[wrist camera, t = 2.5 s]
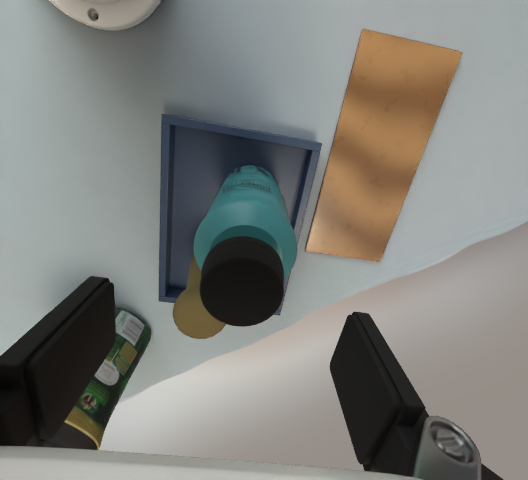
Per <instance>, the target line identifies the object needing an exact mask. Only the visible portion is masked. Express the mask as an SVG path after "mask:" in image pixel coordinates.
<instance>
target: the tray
mask: <svg viewBox="0 0 528 480" xmlns="http://www.w3.org/2000/svg"><path fill="white" fill-rule="evenodd" d="M321 146H322V144H321V143H318V142H314V141H309V140H304V139H298V138H293V137H287V136H282V135H277V134H271V133H266V132H261V131H255V130H250V129H244V128H239V127H234V126H228V125H223V124H218V123H212V122H207V121H201V120H196V119H191V118H185V117H180V116H175V115H169V114H162V131H161V190H160V249H159V301H162V302H170V303H175V301H176V300H177V298H178V297H179V295H180V294H181V293H182V292H183V291H184V290H185V289H186V286H187V280H188V274H189V269H190V263H191V258H192V255H193V253H194V238H195V235H196V232H197V229H198V227H199V225H200V224H201V222H202V221H203V219H204V218H205V217H206V215H207V213H208V211H209V209H210V207H211V205H212V203H213V201H214V199H215V197H214V196H216V194H217V192H218V191H219V190H220V189H219V188H221V187H222V185H223V183H224V181H225V179H226V178H227V177H228V175H229V174H230V172H231V170H232V171H234V170H235V169H237V167H238V166H239V167H242V166H243V165H245V166H258V165H259V166H260V167H261V166H262V167H263V169H264V168H265V170H267V169H268V170H267V171H270V172H269V173H270V174H272V175H273V176H274V178H275V177H276V178H277V179H276V178H275V179H276V181H277V183H278V182H279V184H278V186H279V189H280V192H281V194H283V196H282V198H283V197H284V199H283V201H284V200H285V201H286V202H284V204H285V203H286V204H285V206H286V205H287V207H286V210H287V213H288V218H289V219H290V220H289V221H290V224H291V226H292V228H293V230H294V233H295V236H296V240H297V244H298V240H299V236H300V232H301V228H302V223H303V219H304V215H305V211H306V207H307V203H308V199H309V195H310V191H311V187H312V183H313V179H314V175H315V171H316V166H317V162H318V158H319V154H320V150H321ZM246 164H247V165H246ZM253 164H254V165H253ZM241 165H242V166H241ZM259 166H258V167H259ZM239 167H238V168H239ZM262 167H261V168H262ZM234 168H235V169H234ZM227 174H228V175H227ZM225 177H226V178H225ZM223 180H224V181H223ZM222 181H223V182H222ZM221 183H222V184H221ZM220 185H221V186H220ZM206 212H207V213H206ZM289 213H290V214H289ZM290 272H291V271H290ZM289 276H290V273H289V274H288V275H287V277H286V278H285V279H284V296H283V299H282V302H281V305H280V307H279V308H278V310H277V311H276V312H275V313H274V314H273V315H280V313H281V309H282V305H283V301H284V297H285V293H286V289H287V284H288V280H289Z"/></svg>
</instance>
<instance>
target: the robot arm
mask: <svg viewBox="0 0 528 480" xmlns="http://www.w3.org/2000/svg"><path fill="white" fill-rule="evenodd" d="M48 1H50V2H51V3H52V4H53V5H54V6H56V7H57V8H58V9H59V10H60V11H62V12H63V13H65V14H67V15H68V16H70V17H71V18H73V19H75V20H77V21H79V22H81V23H83V24H85V25H87V26H89V27H93V28H97V29H101V30H112V31H117V30H123V29H128V28H131V27H133V26H135V25H137V24H139V23H141V22H143V21H144V20H145V19H146V18H147V17H149V16H150V15H151V14H152V13H153V12H154V10H155V9H156V8H157V6H158V5H159V4H160V2H161V0H48ZM97 15H98V19H97V20H96V16H97ZM115 341H116V322H115V300H114V284H113V283H110V281H109V279H108V278H102V277H95V276H90V277H89V278H88V279H87V280H85V281H84V282H83V283H82V284H81V285H80V286H79V287H78V288H77V289H75V290H74V291H73V292H72V293H71V294H70V295H69V296H68V297H67V298H65V299H64V300H63V301H62V302H61V303H60V304H59V305H58V306H57V307H55V308H54V309H53V310H52V311H51V312H49V313H48V314H47V315H46V316H45V317H44V318H42V319H41V320H40V321H39V322H38V323H37V324H36V325H35V326H34V327H32V328H31V329H30V330H29V331H28V332H27V333H26V334H25V335H23V336H22V337H21V338H20V339H19V340H18V341H17V342H16V343H15V344H13V345H12V346H11V347H10V348H9V349H8V350H7V351H6V352H5V353H3V354H2V355H1V356H0V480H503V479H502V478H500V477H499V476H498V475H496V474H495V473H494V472H492V471H491V470H490V469H488V468H487V467H486V466H484V465H483V464H482V463H481V458H480V453H479V451H478V449H477V447H476V445H475V444H474V442H473V441H472V440H471V438H470V437H469V436H468V435H467V434H466V433H465V432H464V431H463V430H462V429H461V428H460V427H459V426H457V425H456V424H455V423H453V422H451V421H450V420H448V419H445V418H443V417H440V416H430V417H429V415H428V413H427V412H426V410H425V406H424V404H423V403H422V401H421V399H420V398H419V396H418V394H417V393H416V391H415V390H414V388H413V386H412V384H411V383H410V381H409V379H408V378H407V376H406V374H405V373H404V371H403V369H402V368H401V366H400V364H399V363H398V361H397V359H396V358H395V356H394V354H393V353H392V351H391V349H390V348H389V346H388V345H387V343H386V341H385V339H384V338H383V336H382V334H381V333H380V331H379V329H378V328H377V326H376V325H375V323H374V321H373V320H372V318H371V316H370V315H369V314H367V313H361V312H353V313H352V315H348V317H347V319H346V322H345V325H344V327H343V330H342V333H341V336H340V338H339V341H338V343H337V346H336V348H335V351H334V354H333V357H332V359H331V362H330V371H331V374H332V378H333V381H334V384H335V388H336V391H337V394H338V398H339V401H340V404H341V408H342V411H343V414H344V418H345V421H346V424H347V428H348V431H349V434H350V437H351V441H352V444H353V447H354V451H355V454H356V457H357V460H358V462H359V463H360V464H363V467H364V470H365V471H358V470H349V469H337V468H324V467H313V466H300V465H289V464H277V463H264V462H251V461H238V460H225V459H211V458H199V457H185V456H172V455H158V454H143V453H129V452H115V451H100V450H87V449H69V448H50V447H43V445H44V444H45V442H46V441H47V440H51V439H53V438H54V437H55V435H56V434H57V432H58V431H59V429H60V428H61V426H62V425H63V423H64V422H65V420H66V419H67V417H68V415H69V414H70V412H71V411H72V409H73V408H74V406H75V405H76V403H77V402H78V400H79V399H80V397H81V395H82V394H83V392H84V391H85V389H86V388H87V386H88V385H89V383H90V382H91V380H92V379H93V377H94V375H95V374H96V372H97V371H98V369H99V368H100V366H101V365H102V363H103V362H104V360H105V359H106V357H107V356H108V354H109V352H110V351H111V349H112V348H113V346H114V344H115Z"/></svg>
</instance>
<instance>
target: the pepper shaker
mask: <svg viewBox="0 0 528 480" xmlns="http://www.w3.org/2000/svg"><path fill="white" fill-rule="evenodd" d="M200 281H201V270H200V269H199V267H198V265H197V262H196V259H195V256H194V253H193V255H192V258H191V263H190V269H189V274H188V280H187V286H186V289H185V290H184V291H183V292H182V293H181V294H180V295H179V297H178V298H177V300H176V301H175V304H174V308H173V318H174V322H175V324H176V326H177V327H178V329H179V330H180V331H181V332H182V333H183V334H185V335H187V336H189V337H191V338H197V339H206V338H209V337H212V336H214V335H215V334H217V333H218V332H220V331H221V330H222V329H223V327H224V326H225V325H226V324H225V323H223V322H220V321H219V320H217V319H215V318H214V317H213V316H212V315H210V314H209V312H208V311H207V310H206V309H205V307H204V305H203V303H202V301H201V297H200V291H199V287H200Z"/></svg>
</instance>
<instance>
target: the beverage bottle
mask: <svg viewBox="0 0 528 480" xmlns="http://www.w3.org/2000/svg"><path fill="white" fill-rule="evenodd" d="M246 165H247V164H246ZM253 165H254V164H253ZM241 166H242V165H241ZM258 166H259V165H258ZM258 166H245V165H243V166H242V167H239V166H238V167H239V168H238V167H237V169H235V168H234V169H235V170H234V171H232V170H231V172H230V174H229V175H228V174H227V175H228V177H227V178H226V177H225V178H226V179H225V181H224V180H223V181H224V183H223V185H222V187H221V188H219V189H220V190H219V191H218V192H217V194H216V196H214V197H215V199H214V201H213V203H212V205H211V207H210V209H209V211H208V213H207V212H206V213H207V215H206V217H205V218H204V219H203V221H202V222H201V224H200V225H199V227H198V229H197V232H196V235H195V238H194V256H195V259H196V262H197V265H198V267H199V269H200V270H201V281H200V287H199V291H200V297H201V301H202V303H203V305H204V307H205V309H206V310H207V311H208V312H209V314H210V315H212V316H213V317H214V318H215V319H217V320H219V321H220V322H223V323H225V324H228V325H232V326H251V325H255V324H258V323H261V322H263V321H265V320H267V319H268V318H270V317H271V316H272V315H273V314H274V313H275V312H276V311H277V310H278V308H279V307H280V305H281V302H282V299H283V296H284V279H285V278H286V277H287V275H288V274H289V273H290V271H291V269H292V268H293V265H294V263H295V260H296V256H297V240H296V236H295V233H294V230H293V228H292V226H291V224H290V221H289V220H290V219H289V218H288V213H287V210H286V207H287V205H286V206H285V204H286V203H285V204H284V202H286V201H285V200H284V201H283V199H284V197H283V198H282V196H283V194H281V192H280V189H279V186H278V184H279V182H278V183H277V181H276V179H277V178H276V177H275V178H276V179H275V178H274V176H273V175H272V174H270V173H269V172H270V171H267V170H268V169H267V170H265V168H264V169H263V167H262V166H261V167H262V168H261V167H260V166H259V167H258ZM223 181H222V182H223ZM221 184H222V183H221ZM220 186H221V185H220ZM289 214H290V213H289Z"/></svg>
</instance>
